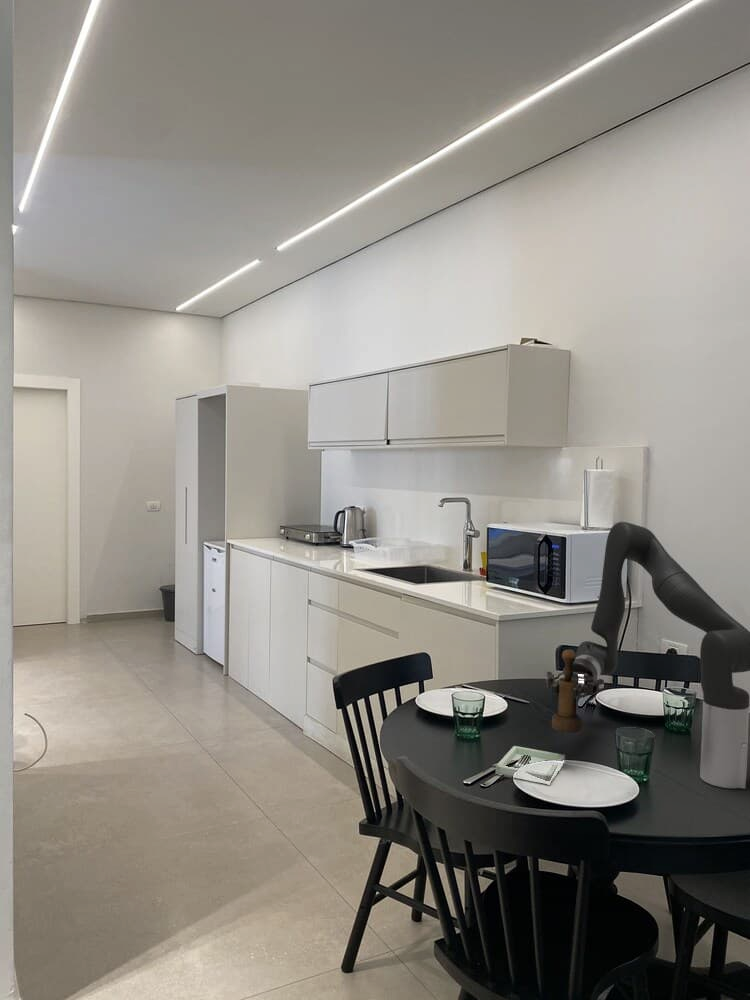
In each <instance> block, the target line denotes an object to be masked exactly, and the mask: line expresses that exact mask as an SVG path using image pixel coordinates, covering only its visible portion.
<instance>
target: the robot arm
mask: <svg viewBox="0 0 750 1000" xmlns="http://www.w3.org/2000/svg"><path fill="white" fill-rule="evenodd" d="M626 560H629V561H633V562H635V563H637V564H639V565H640V566H641V567H642V568H643V569H644V570H645V571H646V572H647V573H648V574H649V575H650V577H651V584H652V589H653V593H654V594H655V596H656V597H657V599H658V600H659V601H660V603H662V604H663V606H664V607H665V608H666V610H668V611H669V612H670V613H671V614H672V615H674V617H677V618H679V619H680V620H681V621H684V622H686V623H688V624H689V625H691V626H694V627H696V628H698V629H699V630H701V631H703V632H705V633H706V634H704V636H703V637H702V640H701V643H700V651H699V653H700V654H699V656H700V657H699V660H700V661H699V663H700V666H699V667H700V686H701V691H702V694H703V697H702V698H703V700H702V723H701V725H702V726H701V747H700V766H699V767H700V768H699V770H700V771H699V773H700V775H699V776H700V779H701V780H702V781H703V782H705V783H707V784H709V785H712V786H715V787H719V788H724V789H742V790H743V789H746V787H747V786H746V785H747V772H748V771H747V769H748V768H747V767H748V750H749V749H748V744H749V721H750V720H749V719H750V718H749V717H750V693H748V691H746V690H745V689H743V688H741V687H738V686H735V685H734V682H733V674H738V673H746V672H750V631H749V630H748V629H747V628H746V627H745V626H743V624H741V623H740V622H739V621H737V620H736V619H735V618H734V617H732V616H731V615H730V614H729V613H728V612H727V611H725V610H724V608H722V607H721V606H720V605H719V604H718V603H717V602H716V600H714V599H713V598H712V597H711V596H710V595H709V594H708V593H707V592H706V591H705V590H704V588H702V587H701V585H700V584H699V583H698V582H697V581H696V580H695V579H694V578H693V576H691V574H689V572H687V571H686V570H685V569H684V568H683V567H682V566H681V565H680V564H679V563H678V562H677V560H675V559H674V558H673V557H672V556H671V555H670V554H669V553H668V552H667V551H666V549H665V548H664V546H663V544H661V542H660V541H659V540H658V538H657V536H656V535H655V534H654V533H653V531H651V530H650V529H648V528H646V527H644V526H641V525H637V524H634V523H630V522H627V521H620V522H616V523H615V524H614V525H613V526H612V527H611V528H610V530H609V533H608V535H607V538H606V544H605V550H604V558H603V567H602V577H601V578H602V579H601V585H600V591H599V595H598V596H599V597H598V601H597V605H596V609H595V612H594V614H593V615H594V616H593V619H592V622H591V626H590V628H591V632H592V633H594V634H595V635H597V636H599V637H601V638H602V639H603V640H604V641H605V644H606V646H605V645H602V644H599V643H596V642H594V641H588V640H586V641H585V640H584V641H583V642H581V643H580V644H579V645H578V647H577V648H576V649H577V650H576V652H575V654H576V658H575V660H574V662H573V664H572V669H573V675H572V678H574V679H576V680H577V685H576V686H575V687H574V688H573V698H576V699H577V698H579V697H581V696H583V695H584V694H586V695H587V696H593V695H596V694H598V693H602V692H603V691H604V689H605V687H604V686H605V680H604V679H602V678H600V676H601V675H604V676H609V675H611V674H613V673H614V672H615V671H616V669H617V667H618V663H619V661H618V659H619V657H618V651H619V650H618V643H619V641H618V639H619V634H620V630H621V626H622V622H623V618H624V615H625V611H626V610H625V609H626V599H625V592H624V588H623V581H622V580H623V579H622V575H623V573H622V572H623V568H624V567H623V566H624V563H625V561H626ZM560 678H565V677H564V672H563V671H562V672H560V673H558V674H557V675H555V674H554V673H553V672H551V671H547V672H546V686H547V689H548V690H551V691H550V692H551V693H552V695H553V696H557V695H559V679H560Z"/></svg>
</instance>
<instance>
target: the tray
mask: <svg viewBox="0 0 750 1000" xmlns="http://www.w3.org/2000/svg"><path fill="white" fill-rule="evenodd" d="M523 755H529V756H531V760H530V761H529V763H534V762H539V761H545V760H556V761H563V760H565V761H566V755H565V754H561V753H556V752H550V751H545V750H539V749H534V748H529V747H522V746H517V745H513V746H512V747H511V749H510V750H508V752H507V753H506V754H505V755H504V756H503V758H502V759H501V760H500V761H499V762H498V763H497V764H496V765H495V775H496V774H502V775H504V776H503V777H504V778H509V779H513V778H512V776H513V774H514V773H515V772H517V771H518V770H519V769H518V768H514V767H508V766H506V765H507V763H508V762H509V761H511V760H518V759H520V758H521V756H523ZM557 766H558V765H552V767H551V768H550V770H549V771H548V772H547V774H544V773H539V772H534V771H528V770H527V771H525V772H526V773H528V774H530V775H532V776H535V777H537V778H540V779H543V780H545V781H550V780H551V778H552V776H553V774H554V772H555V770H556V768H557Z"/></svg>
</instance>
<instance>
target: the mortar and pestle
mask: <svg viewBox="0 0 750 1000" xmlns="http://www.w3.org/2000/svg"><path fill="white" fill-rule="evenodd" d="M561 656H562V657H561V658H562V660H563V662H564V664H565V666H564V668H563V669H562V672H564V677H565V678H560V679H559V693H558V705H557V706H558V709H557V711H558V712H555V713H554V714H552V716H551V719H552V720H551V727H552V729H554V730H556V731H559V732H561V733H578V732H580V731H581V730H582V726H583V725H582V724H583V720H582V717H581V716H579V714H578V713H577V698H573V688H574V687H575V686H576V685H577V680H576V679H574V678H572V675H573V669H572V664H573V662H574V660H575V658H576V651H574V650H573V649H565V650H563V651H562V655H561Z"/></svg>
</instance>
